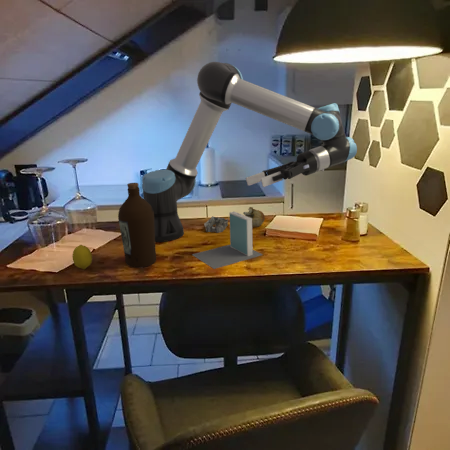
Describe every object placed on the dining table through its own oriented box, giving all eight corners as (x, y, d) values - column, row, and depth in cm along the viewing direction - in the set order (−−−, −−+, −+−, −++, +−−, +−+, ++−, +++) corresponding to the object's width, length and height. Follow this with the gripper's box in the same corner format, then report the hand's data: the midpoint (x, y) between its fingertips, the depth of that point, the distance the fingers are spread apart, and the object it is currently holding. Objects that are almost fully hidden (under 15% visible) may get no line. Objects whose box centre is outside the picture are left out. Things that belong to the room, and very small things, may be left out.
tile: (235, 245, 136) (234, 211, 133) (252, 254, 128) (252, 218, 125) (230, 247, 135) (228, 212, 132) (247, 256, 127) (246, 219, 124)
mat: (238, 244, 140) (238, 242, 139) (263, 256, 128) (262, 254, 128) (191, 256, 131) (191, 254, 130) (214, 270, 119) (214, 268, 119)
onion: (263, 230, 153) (263, 209, 150) (242, 229, 155) (241, 209, 152) (265, 224, 160) (265, 204, 157) (245, 223, 162) (245, 203, 159)
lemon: (94, 271, 122) (90, 246, 119) (74, 274, 120) (70, 249, 118) (93, 264, 127) (89, 240, 124) (74, 267, 125) (70, 243, 123)
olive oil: (151, 252, 135) (144, 178, 127) (163, 263, 126) (156, 184, 118) (119, 260, 130) (110, 183, 122) (129, 271, 121) (120, 189, 113)
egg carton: (221, 234, 151) (221, 224, 149) (202, 233, 153) (202, 222, 152) (230, 225, 160) (230, 215, 159) (212, 224, 163) (212, 214, 161)
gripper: (335, 172, 122) (273, 195, 117) (298, 172, 146) (244, 191, 141) (329, 147, 120) (265, 170, 116) (292, 152, 144) (238, 171, 139)
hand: (254, 182), depth 128 cm, fingers open, 13 cm apart
